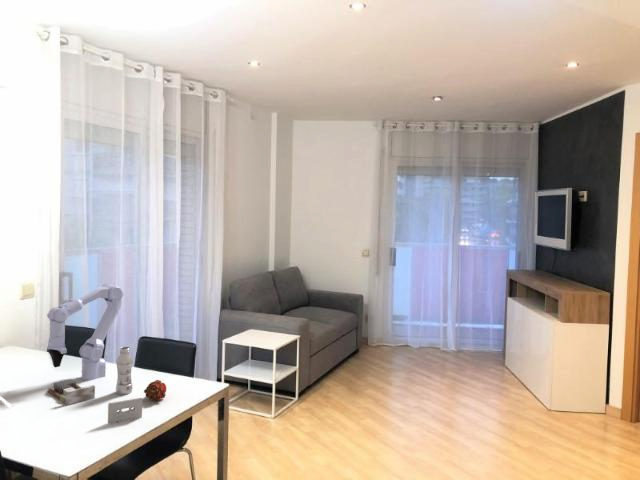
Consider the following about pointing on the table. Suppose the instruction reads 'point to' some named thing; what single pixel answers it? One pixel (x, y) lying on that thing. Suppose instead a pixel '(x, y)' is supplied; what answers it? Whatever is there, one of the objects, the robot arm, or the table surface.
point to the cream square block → (67, 390)
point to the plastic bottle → (124, 372)
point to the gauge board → (75, 394)
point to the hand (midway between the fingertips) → (56, 366)
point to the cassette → (124, 415)
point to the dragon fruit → (155, 390)
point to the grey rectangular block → (64, 385)
